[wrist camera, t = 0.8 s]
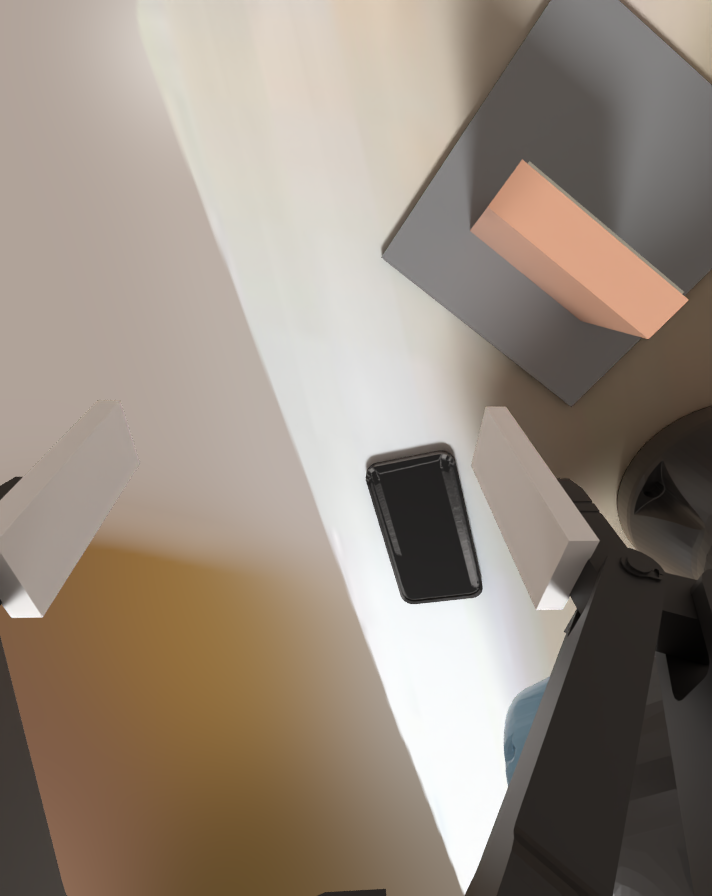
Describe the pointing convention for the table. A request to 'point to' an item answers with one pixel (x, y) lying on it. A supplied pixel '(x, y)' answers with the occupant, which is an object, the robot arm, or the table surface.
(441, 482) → the phone
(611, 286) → the tile
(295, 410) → the table surface
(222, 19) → the table surface
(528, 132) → the mat
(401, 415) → the table surface
